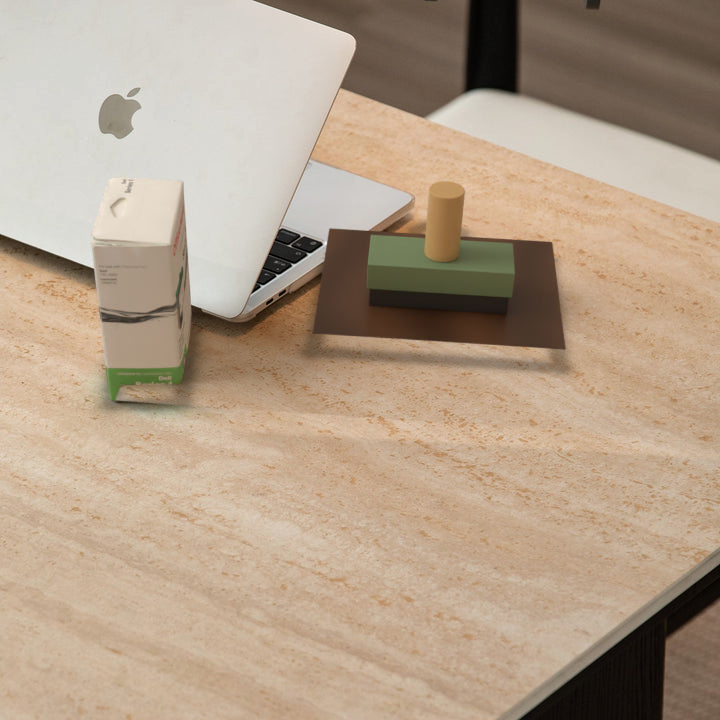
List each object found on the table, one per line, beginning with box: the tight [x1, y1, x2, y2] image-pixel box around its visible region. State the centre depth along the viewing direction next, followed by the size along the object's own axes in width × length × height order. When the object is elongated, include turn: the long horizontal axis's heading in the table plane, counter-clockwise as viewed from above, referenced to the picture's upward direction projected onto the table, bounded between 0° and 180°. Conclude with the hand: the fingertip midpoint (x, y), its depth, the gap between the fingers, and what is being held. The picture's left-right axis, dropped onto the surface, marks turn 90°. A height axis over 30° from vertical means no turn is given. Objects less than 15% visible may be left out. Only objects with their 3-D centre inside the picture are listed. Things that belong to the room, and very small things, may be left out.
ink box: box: [90, 176, 193, 402], centre depth 79 cm, size 9×5×12 cm, turn 1°
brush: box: [367, 180, 515, 314], centre depth 85 cm, size 10×4×8 cm, turn 86°
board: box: [312, 227, 566, 350], centre depth 89 cm, size 17×14×2 cm
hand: (511, 1), depth 67 cm, fingers open, 8 cm apart
